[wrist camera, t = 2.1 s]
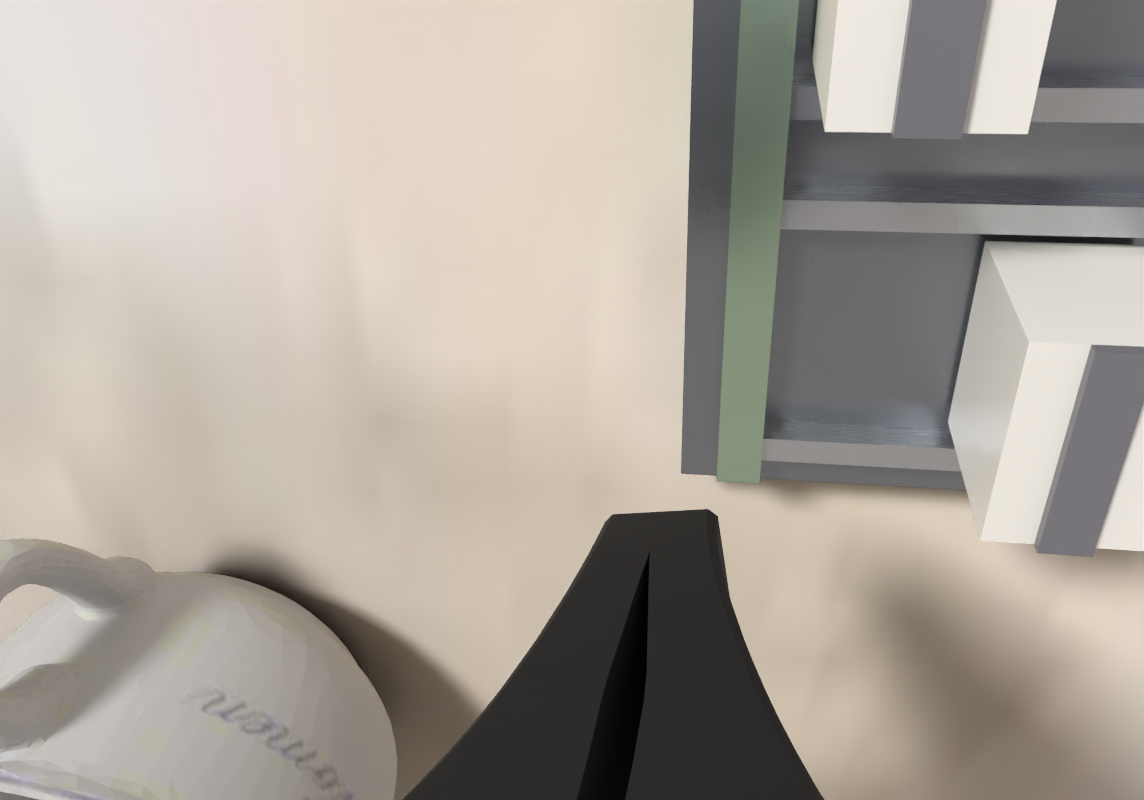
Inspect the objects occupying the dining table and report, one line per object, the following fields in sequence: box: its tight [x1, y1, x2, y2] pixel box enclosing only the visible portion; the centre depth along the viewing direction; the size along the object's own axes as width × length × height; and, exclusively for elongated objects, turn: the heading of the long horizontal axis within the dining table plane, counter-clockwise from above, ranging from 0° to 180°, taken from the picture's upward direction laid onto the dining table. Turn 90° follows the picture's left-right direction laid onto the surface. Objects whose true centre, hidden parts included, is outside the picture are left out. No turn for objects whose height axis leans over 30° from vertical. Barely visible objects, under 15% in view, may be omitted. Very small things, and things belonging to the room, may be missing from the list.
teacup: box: [0, 539, 397, 800], centre depth 24 cm, size 14×11×8 cm
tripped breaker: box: [948, 241, 1144, 557], centre depth 16 cm, size 2×4×3 cm, turn 2°
